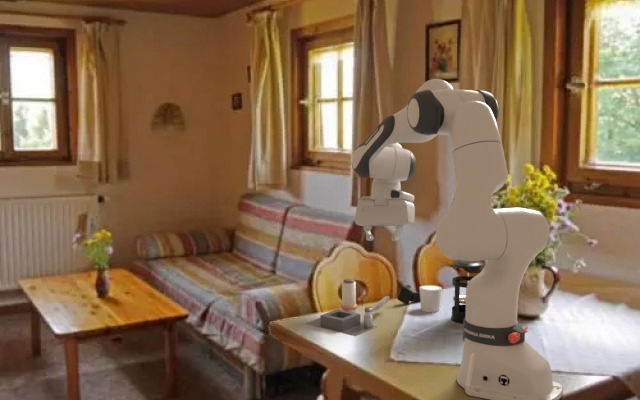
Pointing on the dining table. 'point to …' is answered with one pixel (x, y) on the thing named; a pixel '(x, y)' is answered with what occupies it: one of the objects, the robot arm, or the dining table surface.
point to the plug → (349, 295)
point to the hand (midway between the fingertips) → (381, 240)
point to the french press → (470, 267)
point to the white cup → (430, 298)
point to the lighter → (408, 295)
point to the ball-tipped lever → (376, 306)
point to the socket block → (344, 322)
